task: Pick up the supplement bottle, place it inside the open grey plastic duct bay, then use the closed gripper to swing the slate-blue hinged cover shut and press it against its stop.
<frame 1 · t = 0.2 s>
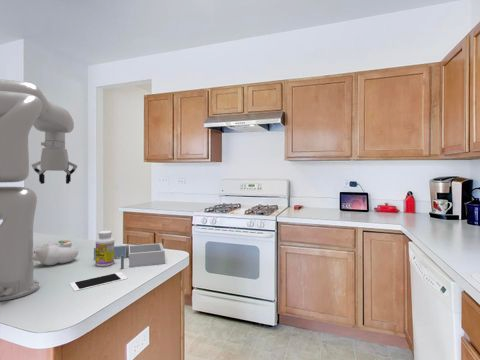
hand: (55, 183, 123), 31 cm above the counter, tool pointing down, fingers open, 9 cm apart
duct: (145, 260, 113), on the counter
cover: (111, 252, 115), point 3 cm above the counter, hinge at 0.0°
white bunny figurine: (56, 264, 108), on the counter
cell phone: (99, 282, 91), on the counter
supplement bottle: (105, 264, 108), on the counter
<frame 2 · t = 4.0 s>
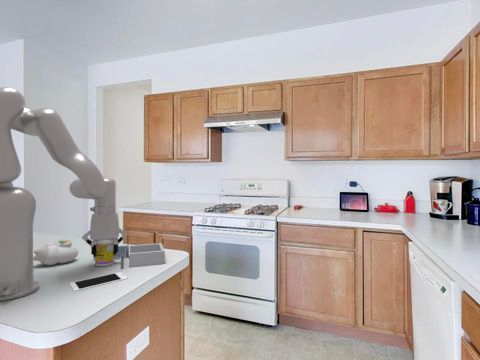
hand: (105, 254, 108), 4 cm above the counter, tool pointing down, fingers closed on supplement bottle, 6 cm apart
supplement bottle: (105, 264, 108), on the counter, touching gripper
everything else where it was.
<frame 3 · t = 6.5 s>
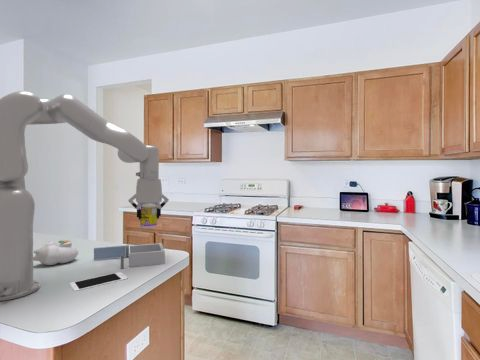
hand: (148, 218, 113), 17 cm above the counter, tool pointing down, fingers closed on supplement bottle, 6 cm apart
supplement bottle: (148, 227, 114), point 14 cm above the counter, touching gripper
everything else where it was.
when the fingers open (6 cm above the counter, at t = 9.2 s): supplement bottle drops 2 cm, resting in duct.
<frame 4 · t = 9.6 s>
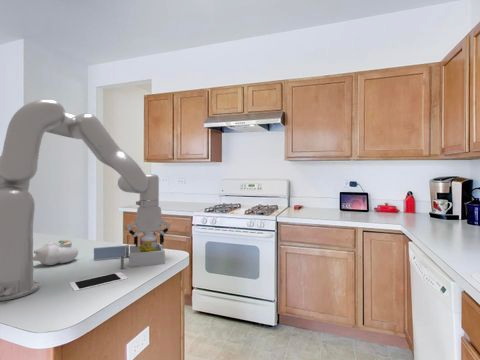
hand: (148, 244, 114), 6 cm above the counter, tool pointing down, fingers open, 9 cm apart
supplement bottle: (148, 260, 114), resting in duct
everything else where it was.
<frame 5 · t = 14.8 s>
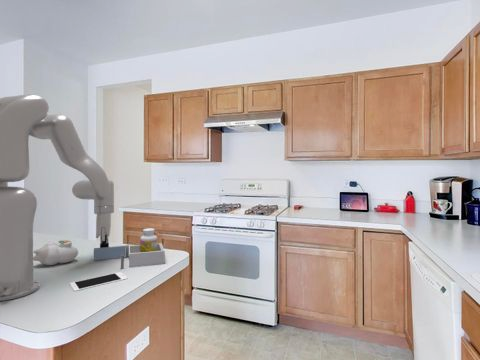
hand: (104, 252, 116), 2 cm above the counter, tool pointing down, fingers closed
cover: (111, 252, 115), point 3 cm above the counter, hinge at 3.5°, touching gripper
everything else where it was.
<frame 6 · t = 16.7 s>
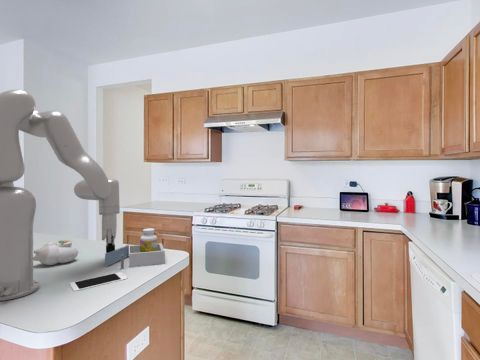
hand: (110, 254, 111), 3 cm above the counter, tool pointing down, fingers closed
cover: (117, 255, 111), point 3 cm above the counter, hinge at 55.5°, touching gripper
everything else where it was.
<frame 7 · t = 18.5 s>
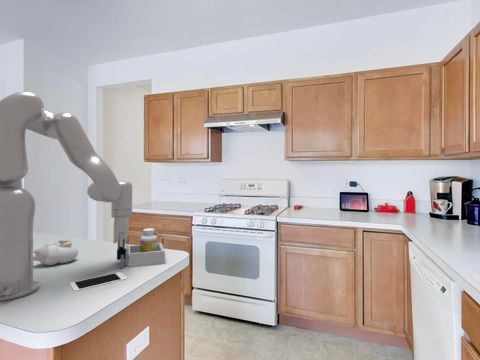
hand: (121, 258, 108), 2 cm above the counter, tool pointing down, fingers closed
cover: (127, 255, 112), point 3 cm above the counter, hinge at 90.6°, touching gripper
everything else where it was.
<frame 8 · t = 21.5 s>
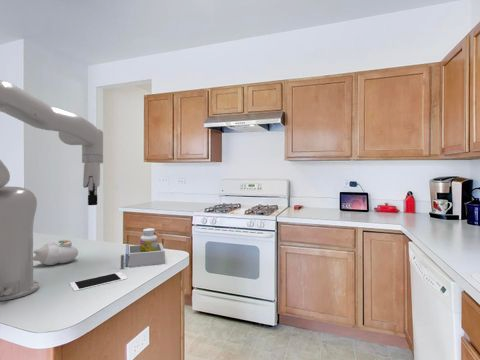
hand: (92, 204, 110), 23 cm above the counter, tool pointing down, fingers closed
cover: (127, 255, 112), point 3 cm above the counter, hinge at 90.6°
everything else where it was.
at the end: supplement bottle inside the target area on the duct (1.4 cm from its centre), point 0.0 cm above the duct's base; supplement bottle tilted 0°; cover at +91° (first picture: +0°) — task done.
